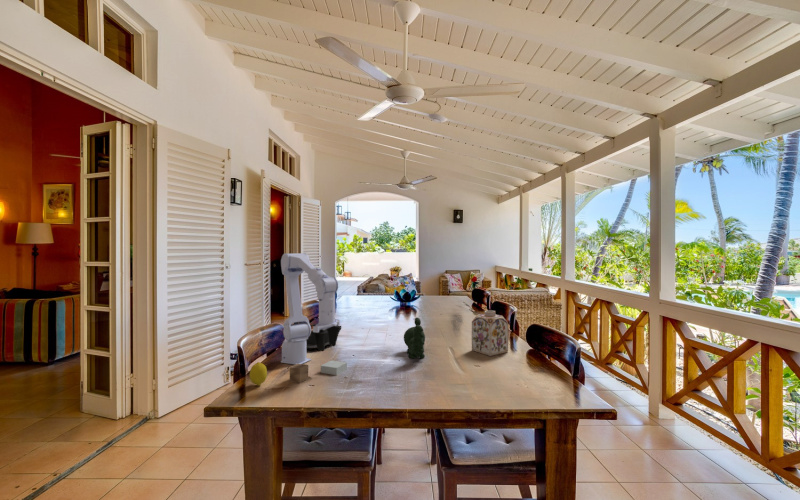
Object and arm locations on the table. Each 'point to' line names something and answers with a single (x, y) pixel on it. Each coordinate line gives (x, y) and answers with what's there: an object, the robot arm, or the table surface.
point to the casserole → (311, 341)
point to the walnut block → (298, 373)
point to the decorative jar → (490, 334)
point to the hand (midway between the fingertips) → (326, 348)
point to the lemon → (258, 373)
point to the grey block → (333, 367)
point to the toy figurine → (415, 340)
